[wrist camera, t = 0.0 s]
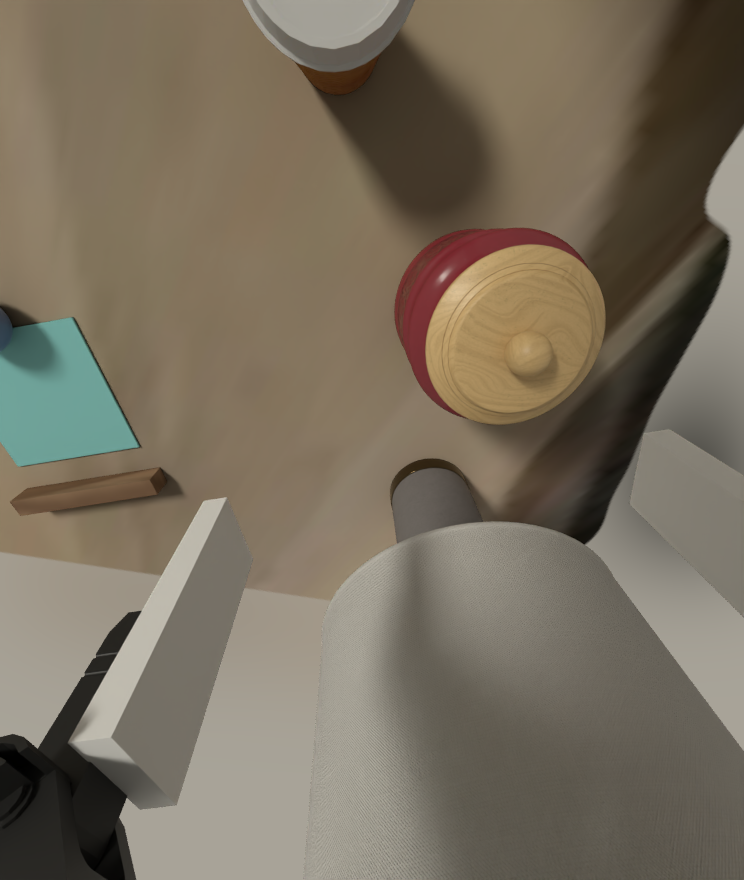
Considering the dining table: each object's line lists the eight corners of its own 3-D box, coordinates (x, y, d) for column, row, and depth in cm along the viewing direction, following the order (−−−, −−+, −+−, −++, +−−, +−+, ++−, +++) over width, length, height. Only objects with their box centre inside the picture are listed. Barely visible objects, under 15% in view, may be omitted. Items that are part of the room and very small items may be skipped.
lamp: (315, 421, 42) (159, 1173, 8) (526, 389, 41) (1281, 1083, 8) (351, 569, 53) (344, 1154, 19) (518, 547, 52) (813, 1116, 18)
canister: (557, 286, 36) (709, 327, 21) (467, 394, 41) (535, 493, 26) (451, 194, 32) (541, 160, 17) (366, 325, 37) (374, 392, 22)
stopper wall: (26, 488, 44) (9, 501, 42) (159, 467, 44) (149, 479, 42) (36, 502, 45) (20, 515, 43) (167, 481, 45) (157, 494, 43)
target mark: (-69, 342, 36) (-71, 342, 36) (73, 317, 36) (71, 317, 36) (19, 465, 43) (18, 466, 43) (139, 446, 42) (138, 446, 42)
